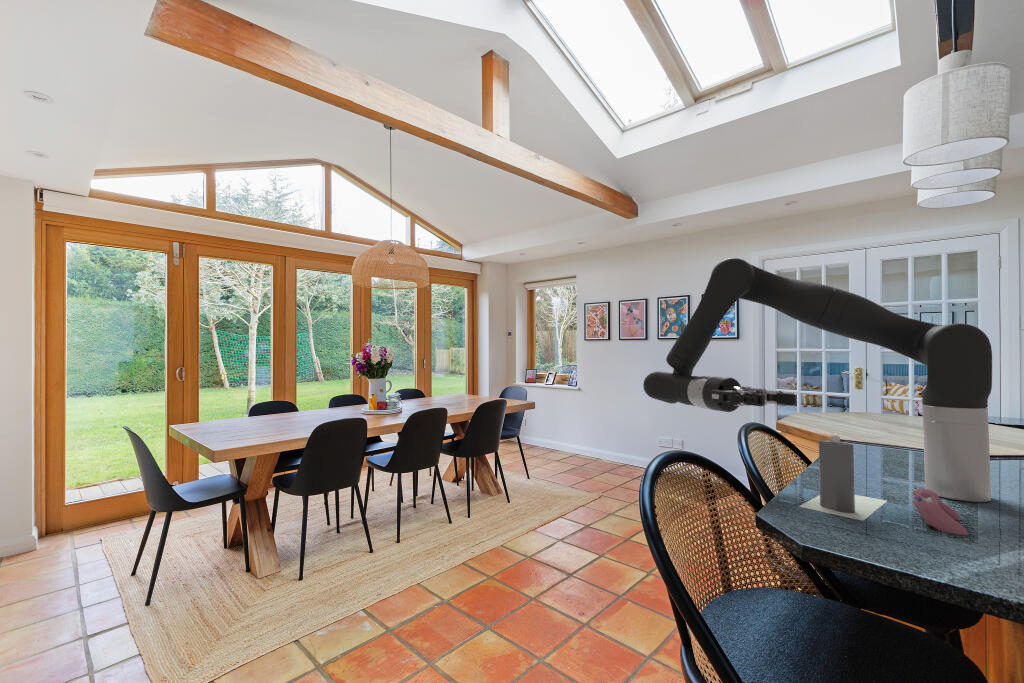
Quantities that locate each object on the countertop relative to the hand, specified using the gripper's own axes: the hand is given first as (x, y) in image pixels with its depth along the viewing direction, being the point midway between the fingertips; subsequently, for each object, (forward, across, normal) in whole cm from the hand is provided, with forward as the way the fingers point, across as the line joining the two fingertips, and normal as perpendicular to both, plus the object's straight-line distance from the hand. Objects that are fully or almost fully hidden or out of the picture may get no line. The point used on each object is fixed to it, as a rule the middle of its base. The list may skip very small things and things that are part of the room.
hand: (779, 400), depth 88 cm
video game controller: (+21, +8, +18) cm, 29 cm away
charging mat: (+10, +4, +18) cm, 21 cm away
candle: (+11, 0, +17) cm, 20 cm away
